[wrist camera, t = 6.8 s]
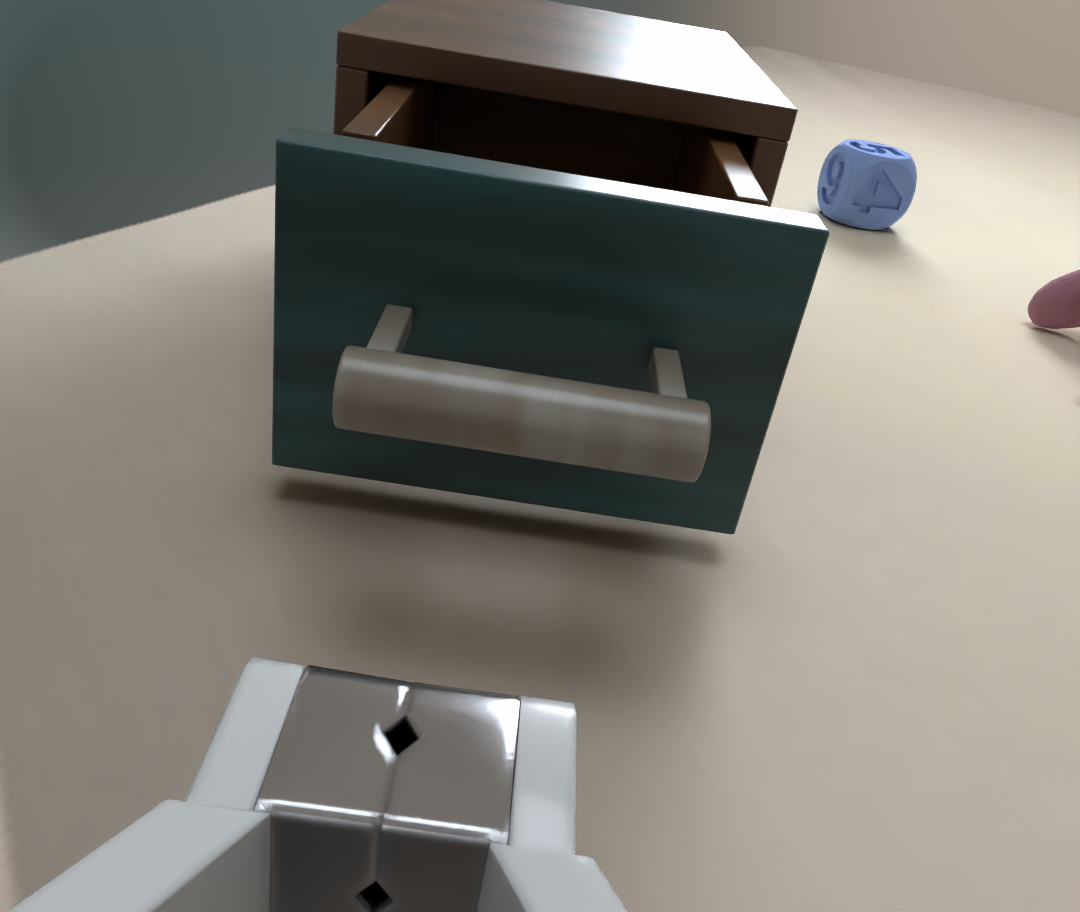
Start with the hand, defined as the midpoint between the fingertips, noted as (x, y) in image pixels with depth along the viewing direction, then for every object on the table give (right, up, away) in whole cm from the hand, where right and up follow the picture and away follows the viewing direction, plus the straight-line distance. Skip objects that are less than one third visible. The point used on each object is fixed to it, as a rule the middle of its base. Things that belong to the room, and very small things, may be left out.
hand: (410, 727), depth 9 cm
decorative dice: (+19, +16, +47) cm, 54 cm away
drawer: (+1, +4, +19) cm, 20 cm away
